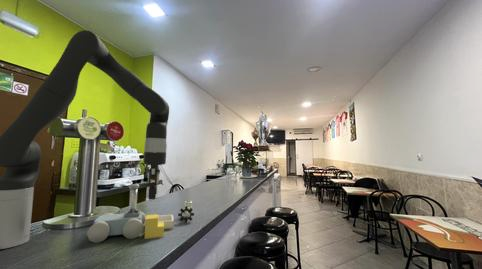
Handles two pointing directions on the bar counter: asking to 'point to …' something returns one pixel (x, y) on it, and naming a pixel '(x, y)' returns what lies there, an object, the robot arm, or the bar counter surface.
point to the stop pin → (133, 198)
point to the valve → (186, 211)
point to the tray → (167, 221)
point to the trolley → (117, 226)
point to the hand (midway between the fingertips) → (152, 196)
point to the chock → (153, 227)
